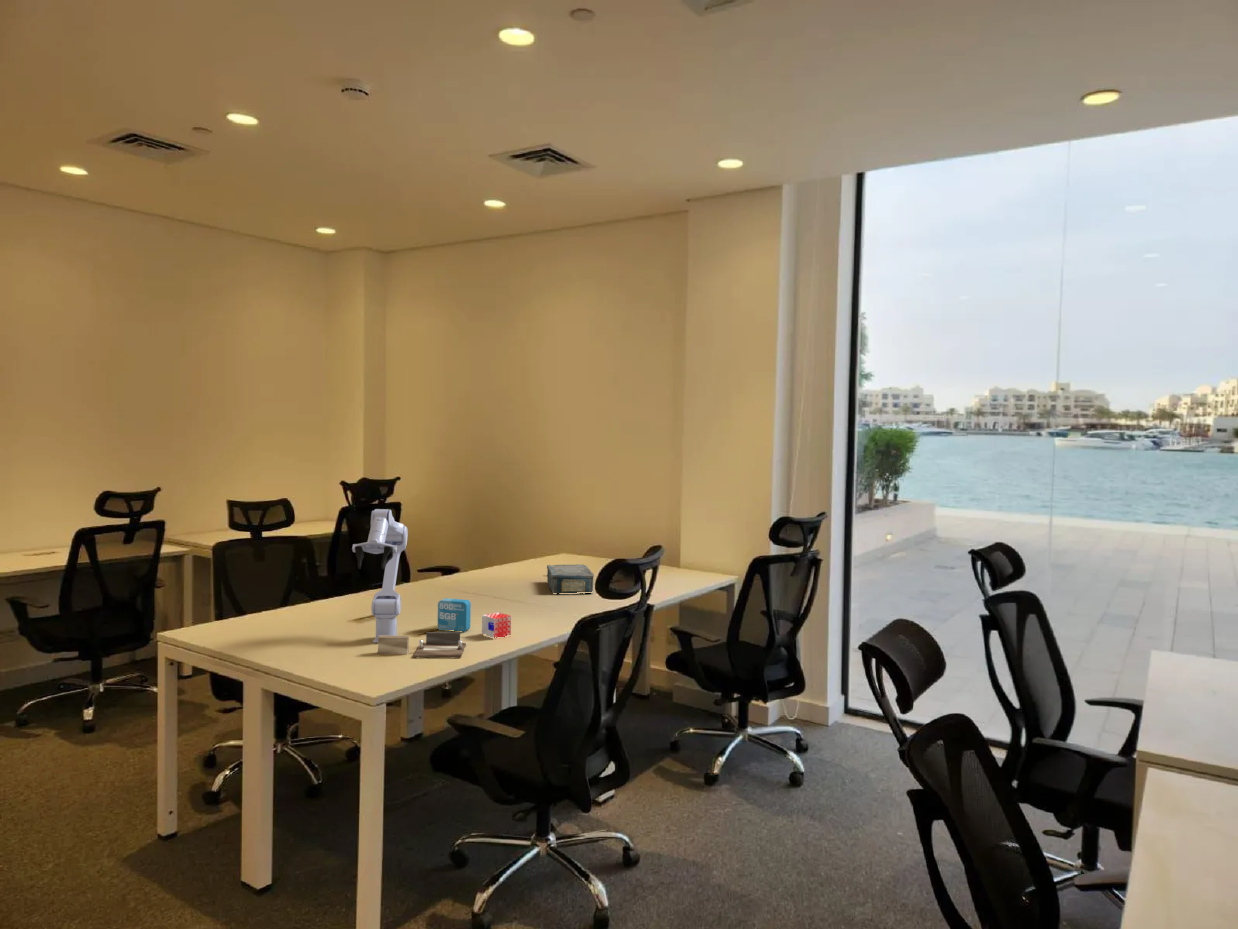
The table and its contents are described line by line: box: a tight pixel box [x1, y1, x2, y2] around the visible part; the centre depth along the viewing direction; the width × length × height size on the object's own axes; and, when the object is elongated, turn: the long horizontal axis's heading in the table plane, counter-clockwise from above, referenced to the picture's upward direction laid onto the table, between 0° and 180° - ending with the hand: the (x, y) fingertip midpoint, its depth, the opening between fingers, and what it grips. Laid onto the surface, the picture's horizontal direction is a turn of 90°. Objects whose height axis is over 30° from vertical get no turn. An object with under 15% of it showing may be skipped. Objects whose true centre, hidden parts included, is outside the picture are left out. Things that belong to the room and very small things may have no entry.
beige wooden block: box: [377, 634, 410, 655], centre depth 284 cm, size 3×10×6 cm, turn 95°
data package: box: [437, 597, 472, 633], centre depth 319 cm, size 12×4×12 cm, turn 78°
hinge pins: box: [418, 639, 463, 649], centre depth 288 cm, size 1×15×3 cm, turn 95°
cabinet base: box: [413, 631, 467, 658], centre depth 288 cm, size 16×16×5 cm
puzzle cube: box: [481, 611, 512, 638], centre depth 312 cm, size 8×8×8 cm
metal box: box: [546, 564, 595, 594], centre depth 409 cm, size 21×32×10 cm, turn 10°
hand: (370, 567), depth 272 cm, fingers open, 7 cm apart
